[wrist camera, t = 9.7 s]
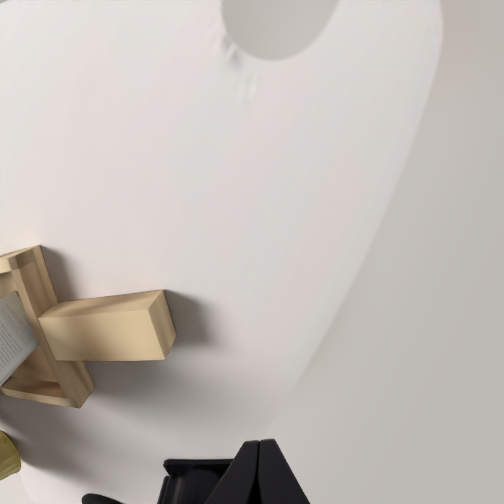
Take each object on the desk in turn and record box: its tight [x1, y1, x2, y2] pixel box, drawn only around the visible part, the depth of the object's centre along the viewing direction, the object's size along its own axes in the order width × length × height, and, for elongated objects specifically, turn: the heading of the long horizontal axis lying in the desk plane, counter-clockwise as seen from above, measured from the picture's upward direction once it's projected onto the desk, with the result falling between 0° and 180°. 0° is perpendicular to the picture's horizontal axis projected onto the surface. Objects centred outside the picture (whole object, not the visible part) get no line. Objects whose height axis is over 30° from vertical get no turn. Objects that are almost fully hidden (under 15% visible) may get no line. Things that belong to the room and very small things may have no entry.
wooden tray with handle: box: [0, 245, 177, 408], centre depth 17 cm, size 18×11×3 cm, turn 100°
